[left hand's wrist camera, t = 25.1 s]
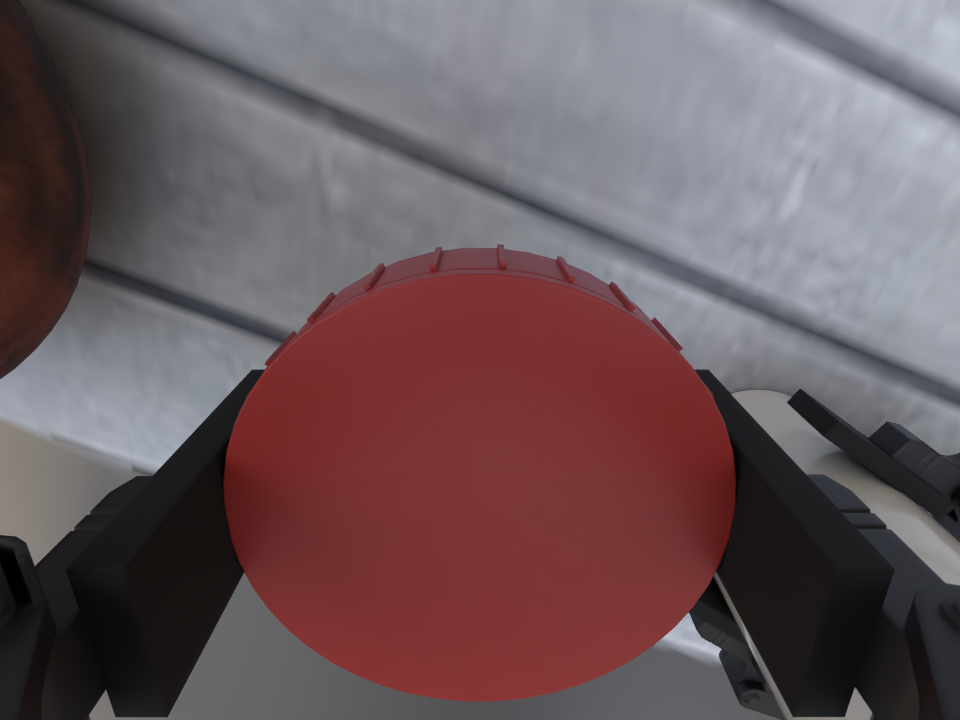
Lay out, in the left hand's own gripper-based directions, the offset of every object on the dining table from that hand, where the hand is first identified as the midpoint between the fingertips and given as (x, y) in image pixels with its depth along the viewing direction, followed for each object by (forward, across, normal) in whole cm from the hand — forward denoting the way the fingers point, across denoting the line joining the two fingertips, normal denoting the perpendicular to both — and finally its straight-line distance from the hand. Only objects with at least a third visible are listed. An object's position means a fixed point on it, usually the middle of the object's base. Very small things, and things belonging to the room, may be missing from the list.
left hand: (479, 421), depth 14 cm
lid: (-3, 0, 0) cm, 3 cm away
